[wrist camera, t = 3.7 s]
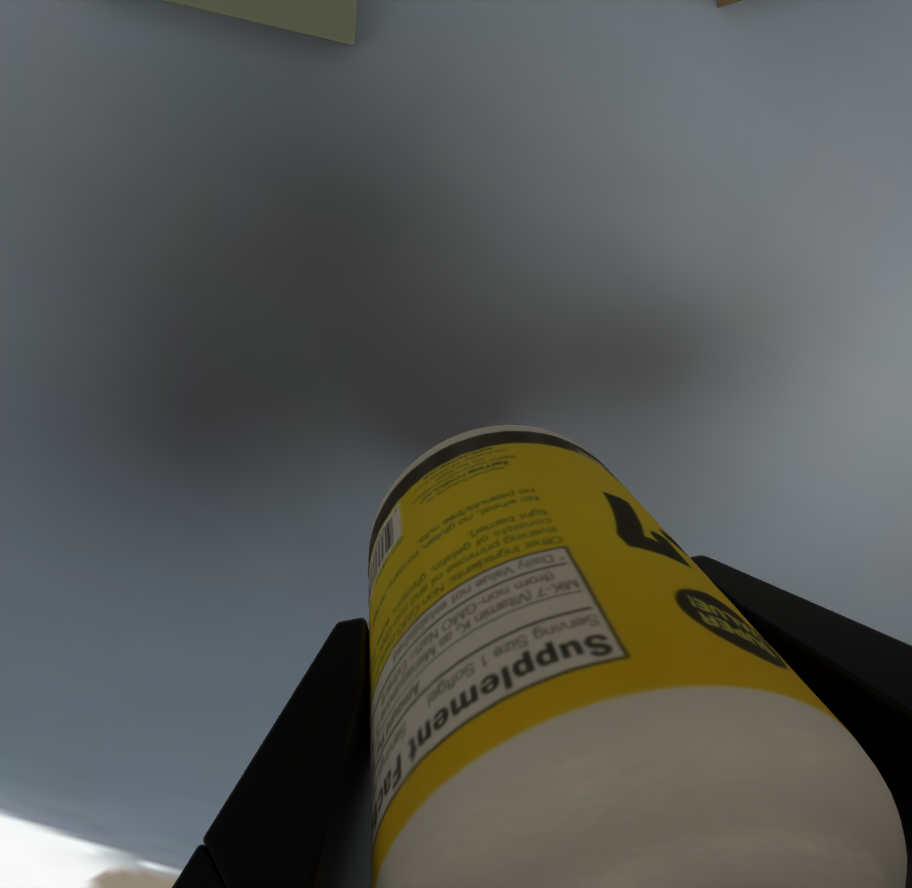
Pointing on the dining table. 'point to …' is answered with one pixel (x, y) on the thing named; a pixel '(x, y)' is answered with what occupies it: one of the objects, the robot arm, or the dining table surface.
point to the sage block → (291, 15)
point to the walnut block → (725, 2)
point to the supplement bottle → (588, 698)
